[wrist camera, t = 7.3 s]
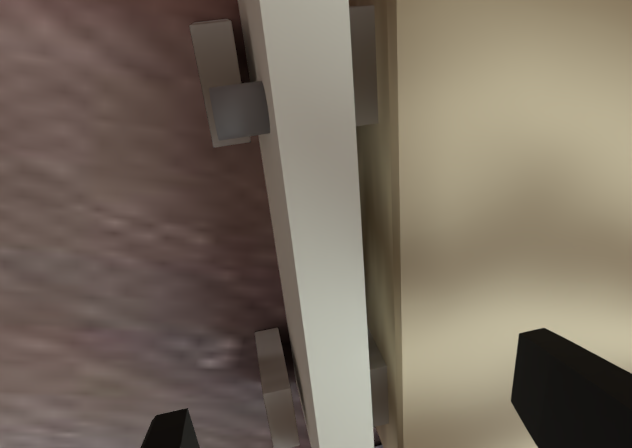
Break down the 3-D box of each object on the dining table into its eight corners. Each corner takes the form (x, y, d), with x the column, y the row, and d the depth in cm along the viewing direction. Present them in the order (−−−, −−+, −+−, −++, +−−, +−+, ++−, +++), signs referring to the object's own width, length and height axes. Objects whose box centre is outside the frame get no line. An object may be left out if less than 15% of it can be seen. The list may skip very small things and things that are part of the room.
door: (329, 373, 21) (378, 522, 15) (270, 387, 21) (295, 546, 15) (287, -11, 14) (347, -27, 8) (196, -1, 14) (186, -10, 8)
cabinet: (553, 360, 24) (643, 452, 19) (272, 427, 22) (290, 550, 17) (636, -119, 15) (849, -183, 10) (173, -83, 13) (150, -142, 8)
